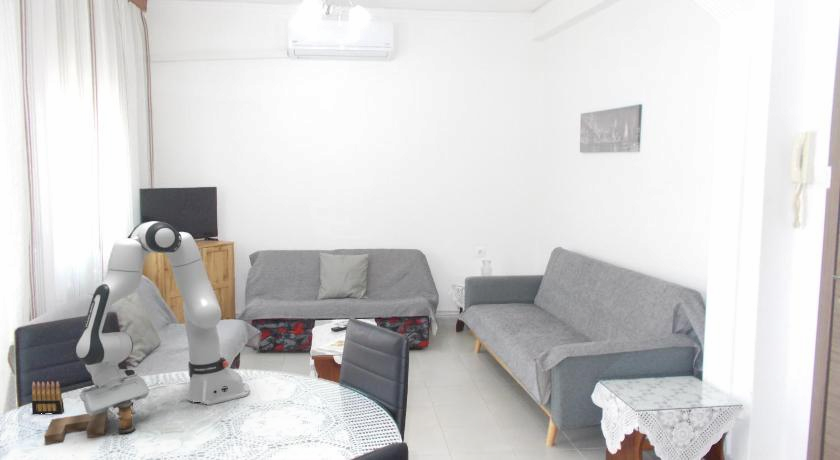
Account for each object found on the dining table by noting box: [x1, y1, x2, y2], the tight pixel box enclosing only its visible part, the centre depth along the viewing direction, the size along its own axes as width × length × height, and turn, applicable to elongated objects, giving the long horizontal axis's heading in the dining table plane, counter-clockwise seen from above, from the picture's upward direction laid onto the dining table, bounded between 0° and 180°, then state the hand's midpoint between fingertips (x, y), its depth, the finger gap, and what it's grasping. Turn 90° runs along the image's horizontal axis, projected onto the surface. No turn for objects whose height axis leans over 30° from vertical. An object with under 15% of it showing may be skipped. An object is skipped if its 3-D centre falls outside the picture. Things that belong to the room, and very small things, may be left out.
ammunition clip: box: [31, 380, 65, 415], centre depth 225 cm, size 11×2×12 cm, turn 88°
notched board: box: [44, 411, 109, 446], centre depth 210 cm, size 17×14×3 cm
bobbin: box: [117, 402, 136, 434], centre depth 208 cm, size 5×5×9 cm
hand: (126, 416), depth 208 cm, fingers closed on bobbin, 4 cm apart
